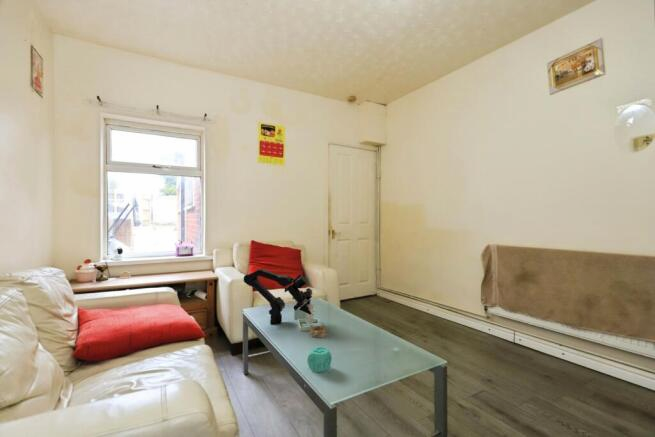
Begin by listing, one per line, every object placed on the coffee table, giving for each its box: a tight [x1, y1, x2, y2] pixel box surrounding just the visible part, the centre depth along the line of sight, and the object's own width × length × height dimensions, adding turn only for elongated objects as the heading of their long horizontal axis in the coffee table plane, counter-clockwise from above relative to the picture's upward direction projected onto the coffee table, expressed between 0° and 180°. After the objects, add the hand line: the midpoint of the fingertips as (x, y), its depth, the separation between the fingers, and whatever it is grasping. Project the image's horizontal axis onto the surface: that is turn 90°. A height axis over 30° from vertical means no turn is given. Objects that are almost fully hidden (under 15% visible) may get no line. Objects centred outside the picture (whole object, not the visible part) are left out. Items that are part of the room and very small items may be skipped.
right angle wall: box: [293, 308, 307, 320], centre depth 196 cm, size 12×12×8 cm
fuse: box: [305, 303, 315, 325], centre depth 177 cm, size 4×4×11 cm
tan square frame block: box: [309, 324, 328, 338], centre depth 165 cm, size 8×8×4 cm
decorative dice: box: [306, 346, 333, 373], centre depth 130 cm, size 8×8×8 cm
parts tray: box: [296, 317, 323, 332], centre depth 177 cm, size 14×14×3 cm
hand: (312, 313), depth 176 cm, fingers closed on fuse, 4 cm apart
